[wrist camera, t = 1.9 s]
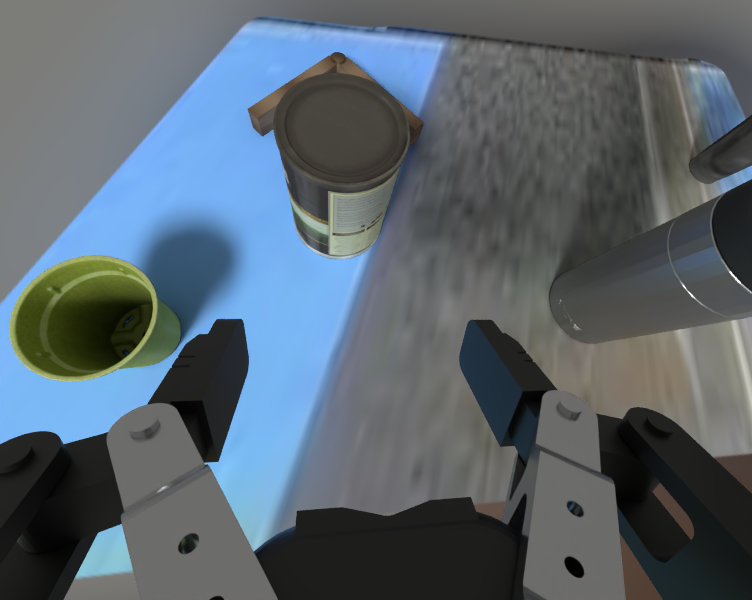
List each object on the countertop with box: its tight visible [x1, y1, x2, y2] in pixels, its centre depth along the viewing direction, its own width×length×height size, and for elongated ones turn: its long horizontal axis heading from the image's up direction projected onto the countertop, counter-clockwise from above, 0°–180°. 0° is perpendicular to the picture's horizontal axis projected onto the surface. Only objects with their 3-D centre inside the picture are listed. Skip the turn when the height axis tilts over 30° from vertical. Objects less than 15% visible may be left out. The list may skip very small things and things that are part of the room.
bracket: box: [248, 52, 424, 146], centre depth 41 cm, size 11×21×3 cm, turn 92°
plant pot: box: [9, 256, 181, 381], centre depth 27 cm, size 9×9×9 cm
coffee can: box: [273, 73, 410, 259], centre depth 31 cm, size 10×10×14 cm
